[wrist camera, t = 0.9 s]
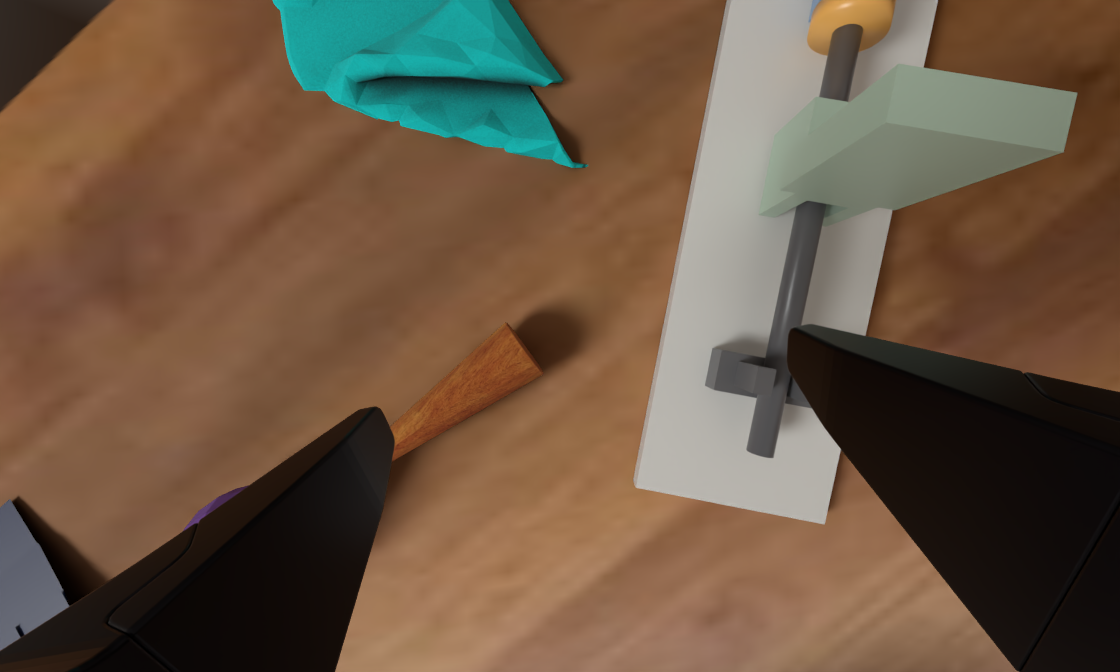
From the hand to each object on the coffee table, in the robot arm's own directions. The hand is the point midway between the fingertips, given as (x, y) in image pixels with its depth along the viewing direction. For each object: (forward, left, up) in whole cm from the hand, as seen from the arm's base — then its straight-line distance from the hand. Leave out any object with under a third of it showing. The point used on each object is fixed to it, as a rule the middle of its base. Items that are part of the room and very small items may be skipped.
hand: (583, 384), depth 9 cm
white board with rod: (-2, -12, -14) cm, 19 cm away
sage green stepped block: (-1, -14, -12) cm, 19 cm away
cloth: (+21, -4, -15) cm, 26 cm away
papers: (-1, +43, -14) cm, 46 cm away
